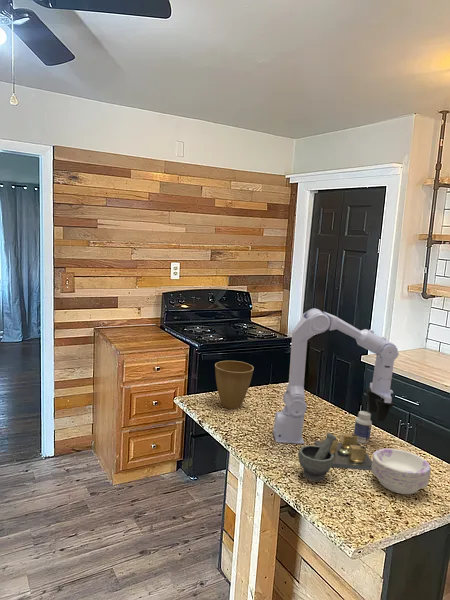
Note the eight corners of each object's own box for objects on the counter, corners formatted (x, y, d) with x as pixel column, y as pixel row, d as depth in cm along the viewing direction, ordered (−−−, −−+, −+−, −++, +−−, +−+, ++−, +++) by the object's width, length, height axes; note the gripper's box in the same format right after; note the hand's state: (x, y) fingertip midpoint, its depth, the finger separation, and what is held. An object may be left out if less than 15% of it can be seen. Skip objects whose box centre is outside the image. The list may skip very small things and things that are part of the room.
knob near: (351, 462, 140) (352, 449, 139) (347, 456, 144) (348, 443, 143) (365, 463, 140) (367, 450, 140) (361, 457, 144) (363, 444, 144)
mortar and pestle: (311, 487, 126) (316, 445, 125) (289, 471, 134) (294, 431, 132) (341, 479, 132) (347, 439, 130) (319, 464, 140) (323, 426, 138)
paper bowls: (376, 466, 142) (379, 442, 141) (430, 484, 134) (434, 458, 133) (363, 487, 129) (367, 460, 128) (422, 508, 121) (426, 479, 120)
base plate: (325, 466, 139) (326, 459, 138) (314, 444, 154) (315, 437, 153) (375, 470, 139) (376, 463, 139) (359, 447, 154) (360, 440, 154)
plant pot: (214, 396, 189) (218, 358, 187) (251, 401, 187) (255, 363, 185) (208, 410, 175) (212, 368, 172) (247, 415, 173) (252, 373, 171)
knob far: (342, 449, 149) (344, 436, 148) (339, 443, 152) (341, 431, 152) (356, 450, 149) (358, 437, 148) (352, 444, 153) (354, 432, 152)
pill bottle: (370, 444, 157) (373, 417, 156) (353, 442, 158) (357, 414, 157) (368, 438, 162) (372, 411, 161) (352, 435, 163) (356, 409, 162)
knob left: (322, 454, 144) (324, 441, 143) (319, 448, 148) (321, 435, 147) (337, 455, 144) (338, 442, 144) (333, 449, 148) (335, 436, 148)
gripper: (403, 384, 147) (397, 425, 149) (386, 371, 161) (380, 408, 163) (381, 383, 147) (375, 424, 149) (366, 369, 161) (360, 407, 163)
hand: (376, 416), depth 156 cm, fingers open, 7 cm apart
